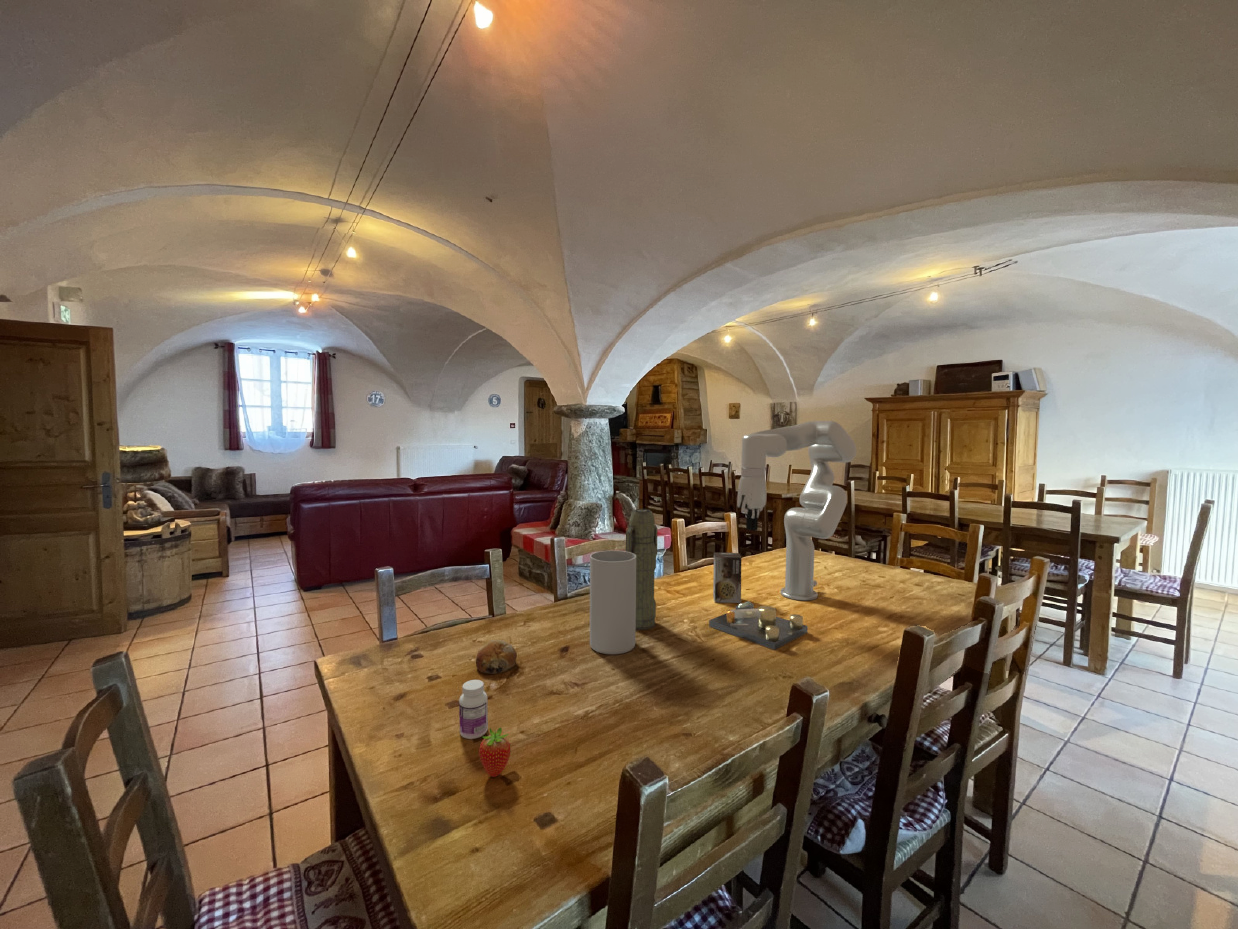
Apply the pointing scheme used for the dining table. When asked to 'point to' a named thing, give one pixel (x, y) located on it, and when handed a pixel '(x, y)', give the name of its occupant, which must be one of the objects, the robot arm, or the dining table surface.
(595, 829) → the dining table surface
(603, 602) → the cylinder vase
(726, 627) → the base
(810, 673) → the dining table surface
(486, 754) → the fruit
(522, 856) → the dining table surface
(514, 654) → the bread roll
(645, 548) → the stone statue
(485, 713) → the pill bottle
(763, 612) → the ball-ended bar
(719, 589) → the coffee box
